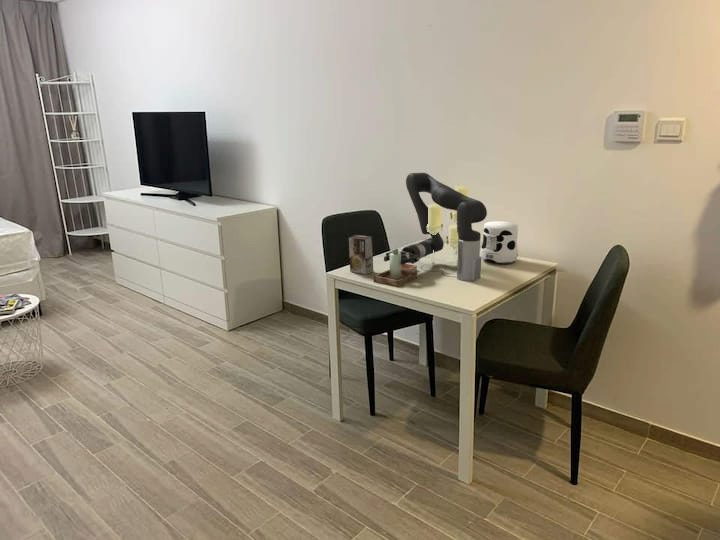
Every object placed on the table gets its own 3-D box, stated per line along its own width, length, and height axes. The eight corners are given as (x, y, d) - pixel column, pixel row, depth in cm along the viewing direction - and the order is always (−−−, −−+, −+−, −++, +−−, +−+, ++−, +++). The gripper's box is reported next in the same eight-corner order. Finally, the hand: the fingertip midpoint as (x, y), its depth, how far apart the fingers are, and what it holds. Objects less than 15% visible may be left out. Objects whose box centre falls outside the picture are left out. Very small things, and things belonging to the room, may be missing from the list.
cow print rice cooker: (514, 257, 265) (516, 220, 260) (520, 266, 248) (523, 228, 243) (478, 256, 267) (480, 220, 262) (482, 266, 250) (484, 228, 245)
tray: (417, 278, 234) (417, 272, 234) (398, 286, 223) (398, 281, 223) (393, 273, 242) (393, 268, 241) (373, 281, 231) (373, 276, 230)
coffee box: (373, 271, 246) (373, 236, 241) (365, 274, 241) (365, 239, 236) (357, 268, 251) (356, 234, 246) (349, 271, 246) (348, 237, 241)
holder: (416, 270, 246) (416, 265, 245) (408, 274, 240) (408, 269, 240) (403, 267, 250) (403, 263, 250) (394, 271, 245) (394, 266, 244)
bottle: (403, 278, 233) (403, 248, 229) (397, 280, 229) (396, 251, 225) (394, 276, 236) (393, 247, 232) (387, 279, 232) (387, 249, 228)
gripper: (400, 242, 244) (379, 249, 232) (427, 246, 235) (407, 254, 223) (400, 258, 246) (379, 266, 234) (427, 263, 238) (407, 272, 225)
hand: (393, 260), depth 228 cm, fingers open, 8 cm apart
